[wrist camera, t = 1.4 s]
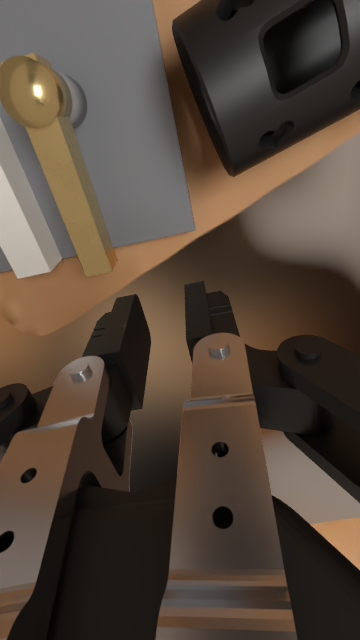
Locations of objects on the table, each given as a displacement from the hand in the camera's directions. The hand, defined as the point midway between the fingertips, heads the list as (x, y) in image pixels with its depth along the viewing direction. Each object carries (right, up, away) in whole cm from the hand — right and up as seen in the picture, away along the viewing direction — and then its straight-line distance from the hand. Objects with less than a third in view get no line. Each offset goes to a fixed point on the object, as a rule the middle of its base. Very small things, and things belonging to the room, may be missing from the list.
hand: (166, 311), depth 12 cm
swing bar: (-7, +10, +10) cm, 15 cm away
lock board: (-10, +14, +14) cm, 22 cm away
